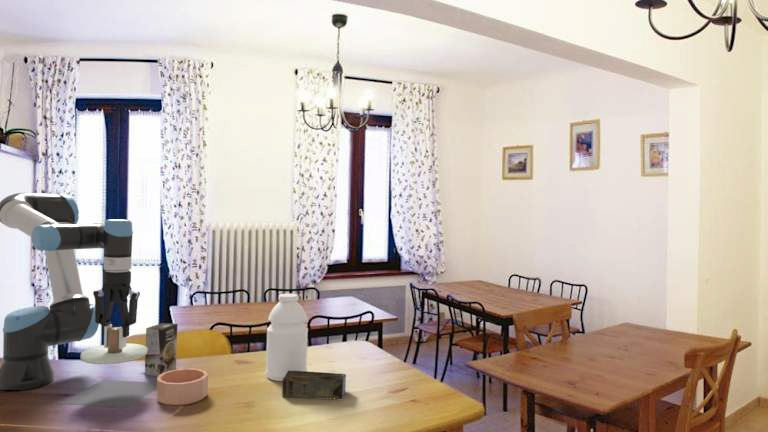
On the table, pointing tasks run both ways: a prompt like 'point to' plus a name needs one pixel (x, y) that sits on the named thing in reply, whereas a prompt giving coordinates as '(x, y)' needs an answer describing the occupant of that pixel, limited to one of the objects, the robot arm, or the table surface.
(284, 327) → the bottle
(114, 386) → the mat
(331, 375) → the beverage carton
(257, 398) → the table surface
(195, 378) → the bowl
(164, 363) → the coffee box
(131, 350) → the lid
